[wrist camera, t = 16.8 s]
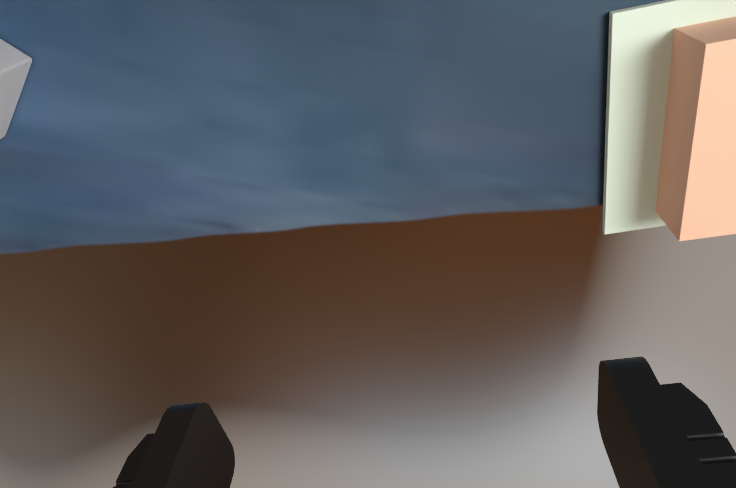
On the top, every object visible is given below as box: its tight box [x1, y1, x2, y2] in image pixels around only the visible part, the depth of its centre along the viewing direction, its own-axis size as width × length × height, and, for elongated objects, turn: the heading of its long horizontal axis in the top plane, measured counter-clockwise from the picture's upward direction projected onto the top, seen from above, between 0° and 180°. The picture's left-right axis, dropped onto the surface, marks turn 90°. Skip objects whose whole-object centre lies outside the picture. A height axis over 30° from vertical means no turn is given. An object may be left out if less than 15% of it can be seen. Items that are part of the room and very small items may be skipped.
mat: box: [602, 0, 736, 234], centre depth 35 cm, size 16×12×1 cm
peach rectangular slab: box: [656, 16, 736, 241], centre depth 33 cm, size 13×5×4 cm, turn 12°
